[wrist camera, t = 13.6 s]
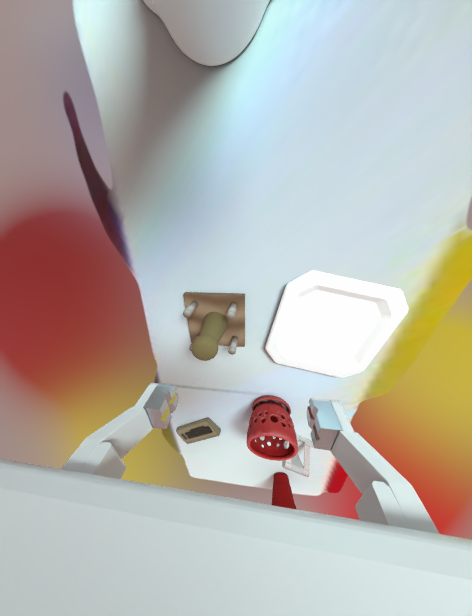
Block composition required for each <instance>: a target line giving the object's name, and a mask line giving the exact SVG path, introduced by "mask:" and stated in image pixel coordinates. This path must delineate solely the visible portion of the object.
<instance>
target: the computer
mask: <svg viewBox="0 0 472 616" xmlns="http://www.w3.org/2000/svg"><path fill="white" fill-rule="evenodd" d="M220 431H221V429H220V428H219V427H218V426H217V425H216V424H215V423H214V422H213V421H212V420H211V419H210V418H205V419H202V420H199V421H196V422H193V423H189V424H186V425H183V426H180V427H178V428H177V430H176V432H177V434H178V435H179V436H180V437H181V438H182V439H183V440H184V441H185V442H186V443H187V444H189V443H193V442H197V441H201V440H205V439H209V438H212V437H216V436H219V434H220Z"/></svg>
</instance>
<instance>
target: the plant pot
mask: <svg viewBox="0 0 472 616" xmlns="http://www.w3.org/2000/svg"><path fill="white" fill-rule="evenodd" d="M252 410H253V413H252V415H251V418H250V422H249V428H248V433H247V446H248V448H249V450H250V451H251V452H253V453H254V454H255V455H257V456H259V457H262V458H265V459H269V460H278V461H281V460H288V459H291V458H293V457H294V456H295V455H296V454H297V452H298V444H297V437H296V433H295V429H294V425H293V422H292V419H291V417H290V414H291V409H290V407H289V405H288V404H287V403H286V402H285V401H284V400H283V399H281V398H278V397H275V396H263V397H261V398H259V399H257V400H256V401H255V402H254V404H253V407H252ZM261 436H265V439H264V440H263V441H262V440H260V438H259V437H261ZM272 436H274V437H276V438H275V439H273V437H272ZM279 438H282V440H279ZM255 439H256V441H257V442H255ZM285 441H288V442H289V447H288V448H287V449H285V448H284V442H285ZM267 442H271V446H268V445H267ZM278 443H279V444H280V446H279V447H277V444H278ZM262 444H263V445H264V448H262V446H261V445H262Z"/></svg>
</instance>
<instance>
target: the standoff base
mask: <svg viewBox="0 0 472 616" xmlns="http://www.w3.org/2000/svg"><path fill="white" fill-rule="evenodd" d="M183 295H184V301H185V306H186V309H185V311H184V312H183V315H184V316H185V317H187V318H188V324H189V330H190V336H191V342H193V340H194V339H195V338H196V337H197V336H199V333H200V330H201V327H202V324H203V320H204V317H205V316H206V314H208V313H210V312H219V313H221V314H223V315H224V316H225V317H226V318H227V321H228V326H227V329H226V331H225V332H224V334H223V336H222V337H221V339H220V341H219V343H218V345H228V346H230V347H229V351H228V352H229V353H230V354H232V355H233V354H235V352H236V347H237V346H243V347H244V346H245V294H235V293H199V292H185V293H184V294H183ZM191 346H192V344H191ZM191 346H190V348H189V349H190V351H192V349H191Z"/></svg>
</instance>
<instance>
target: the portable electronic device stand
mask: <svg viewBox="0 0 472 616" xmlns="http://www.w3.org/2000/svg"><path fill="white" fill-rule="evenodd" d="M296 437H297V441H298V442H299V441H302V442H304V466H303V465H302V463H301V461H300V458H299V456H298V453H297V454H296V455H295V456H294V457H293V458H291V459H288V460H283V462H282V466H283V468H286V469H288V470H291V471H293V472H296V473H299V474H301V475H304V476H307V477H308V476H309V454H310V447H313V443H312V441H310V440H308V439H305V438H303V437H300V436H298V435H296ZM284 447H285V449H287V448H288V447H289V442H288V441H287V444H286V443H284Z"/></svg>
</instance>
